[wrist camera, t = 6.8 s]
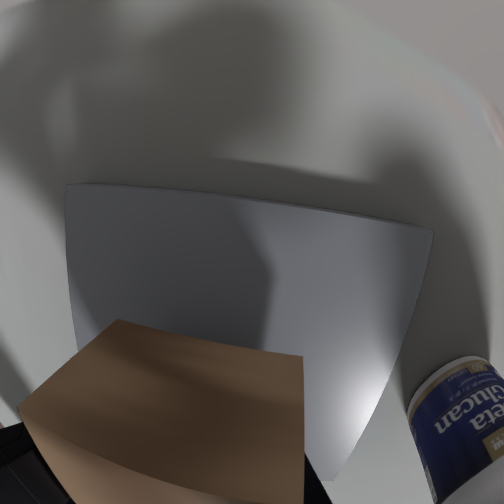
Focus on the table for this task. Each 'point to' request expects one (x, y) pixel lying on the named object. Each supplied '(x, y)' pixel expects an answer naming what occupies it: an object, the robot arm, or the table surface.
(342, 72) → the table surface
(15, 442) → the robot arm
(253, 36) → the table surface
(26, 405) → the tan wooden block
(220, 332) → the base plate
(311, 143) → the table surface
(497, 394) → the pill bottle
